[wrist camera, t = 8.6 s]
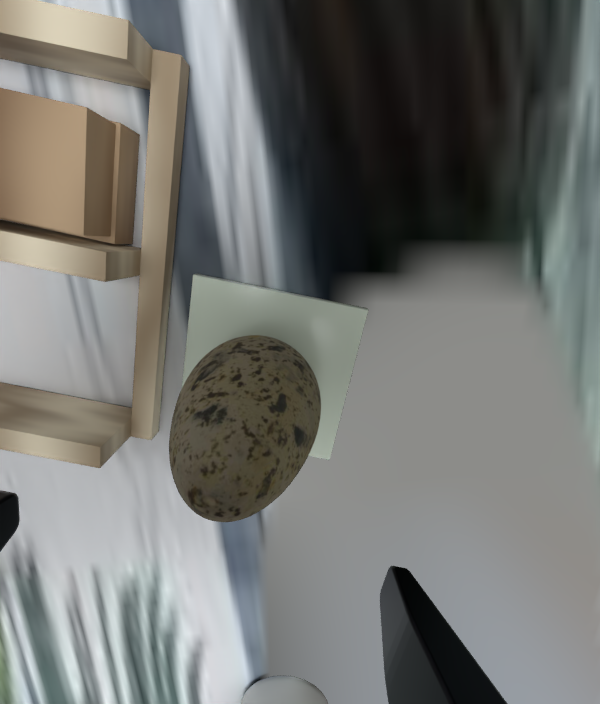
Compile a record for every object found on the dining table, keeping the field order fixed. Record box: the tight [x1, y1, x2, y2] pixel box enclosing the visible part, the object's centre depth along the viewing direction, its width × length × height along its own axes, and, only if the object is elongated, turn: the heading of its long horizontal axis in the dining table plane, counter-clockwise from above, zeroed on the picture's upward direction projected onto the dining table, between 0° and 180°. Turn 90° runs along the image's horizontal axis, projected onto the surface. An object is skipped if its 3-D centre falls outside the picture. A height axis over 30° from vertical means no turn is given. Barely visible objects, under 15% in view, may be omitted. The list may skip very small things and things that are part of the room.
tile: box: [181, 274, 368, 460], centre depth 19 cm, size 9×9×1 cm
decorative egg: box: [169, 335, 321, 522], centre depth 14 cm, size 6×6×10 cm
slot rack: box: [0, 0, 189, 468], centre depth 16 cm, size 14×19×4 cm
